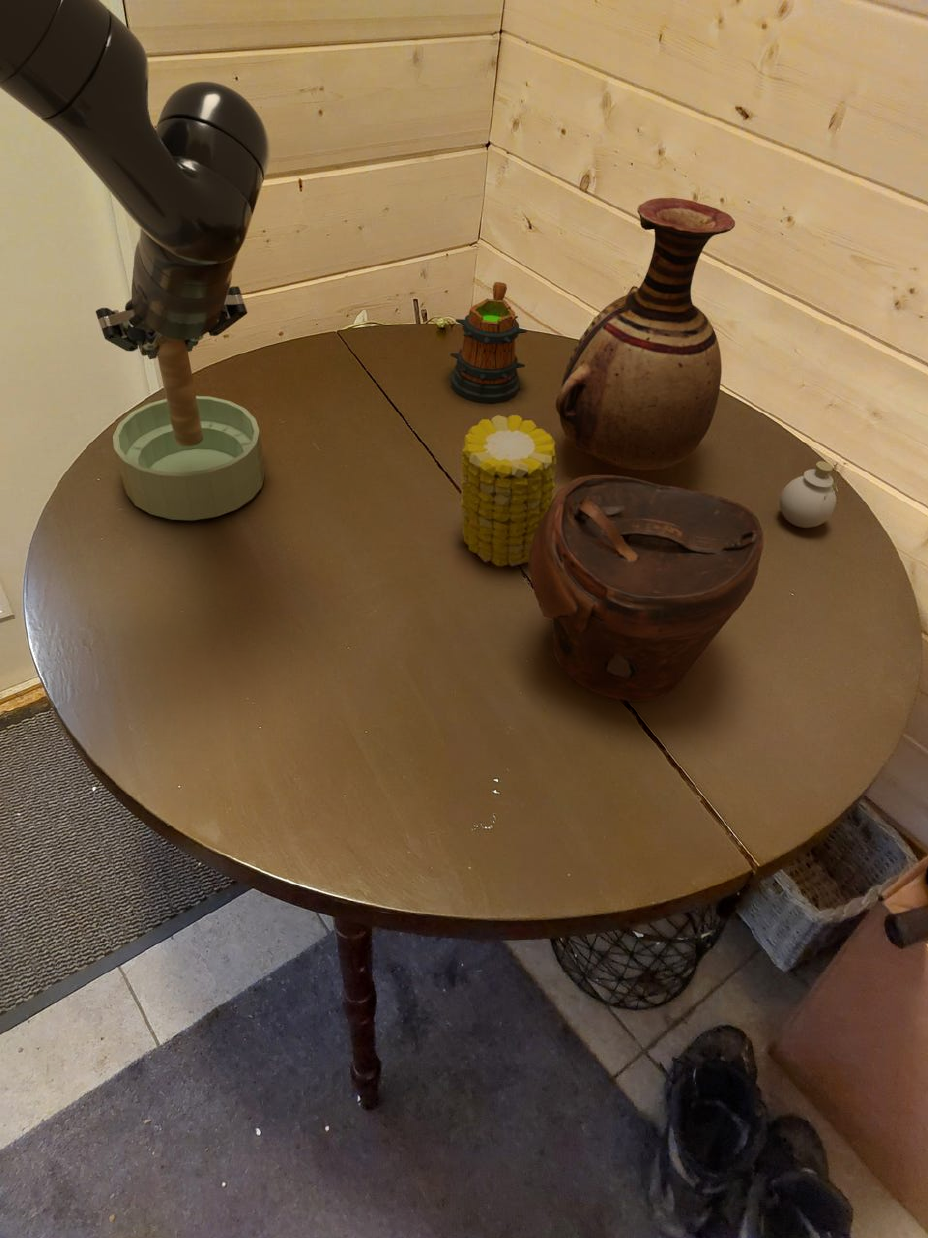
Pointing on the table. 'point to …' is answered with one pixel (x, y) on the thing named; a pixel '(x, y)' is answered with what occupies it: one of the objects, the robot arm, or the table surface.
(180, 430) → the stick
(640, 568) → the case
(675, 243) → the vase
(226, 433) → the bowl
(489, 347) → the mug
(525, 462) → the food
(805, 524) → the ornament
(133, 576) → the table surface
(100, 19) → the robot arm
